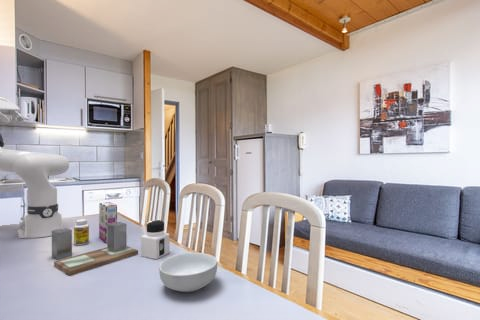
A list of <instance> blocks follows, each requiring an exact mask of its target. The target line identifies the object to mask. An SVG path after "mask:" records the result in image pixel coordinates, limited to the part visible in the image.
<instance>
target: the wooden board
mask: <svg viewBox="0 0 480 320" xmlns="http://www.w3.org/2000/svg"><path fill="white" fill-rule="evenodd" d="M138 255H139V250H138V249H136V248H133V247H130V246H128V245H127V249H126V250H122V251H119V252H115V253H113V252H111V251H109V250H107V247H103V248H100V249H95V250H93V251H92V250H91V251H87V252H84V253H81V254H77V255H72V256H71V257H67V258H63V259H60V260H53V267H55V268H57V269H58V270H60V271H61V272H63V273H64V274H66V275H67V276H70V277H71V276H74V275H77V274H81V273H83V272H86V271H90V270H93V269H96V268H100V267H103V266H105V265H106V266H107V265H109V264H112V263H115V262H118V261H122V260H123V259H127V258H131V257H134V256H138Z"/></svg>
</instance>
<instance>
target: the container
mask: <svg viewBox="0 0 480 320" xmlns="http://www.w3.org/2000/svg"><path fill="white" fill-rule="evenodd" d="M170 235H171V234H170V233H167V232H165V222H164V220H161V219H154V220H150V221H148V222H147V223H146V234H143V235H140V256H141V257H145V258H148V259H153V260H157V259H160V258H162V257H164V256H166V255H168V254H170V249H171V248H170V244H171V243H170V242H171V241H170V238H171V237H170Z"/></svg>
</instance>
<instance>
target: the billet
mask: <svg viewBox="0 0 480 320" xmlns="http://www.w3.org/2000/svg"><path fill="white" fill-rule="evenodd" d="M127 242H128V241H127V223H125V222H122V221H117V222H116V223H111V224H107V243H106V244H107V250H109V251H111V252H113V253H115V252H119V251H122V250H126V249H127V246H128V245H127Z"/></svg>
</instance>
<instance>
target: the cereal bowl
mask: <svg viewBox="0 0 480 320" xmlns="http://www.w3.org/2000/svg"><path fill="white" fill-rule="evenodd" d="M217 269H218V261H217V258H216V257H215V256H214V255H212V254H209V253H203V252H182V253H179V254H175V255H172V256H169V257H167V258H165V259H164V260H162V261H161V262H160V264H159V266H158V272H159V273H158V274H159V278H160V280H161V282H162V284H163V285H164V286H165V287H166V288H169V289H170V290H173V291H176V292H177V291H178V292H181V293H192V292H196V291H198V290H200V289H201V288H203V287H205V286H207V285H208V284H210V283H211V282H212V281H213V280H214V278H215V276H216V274H217V271H218V270H217Z"/></svg>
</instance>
